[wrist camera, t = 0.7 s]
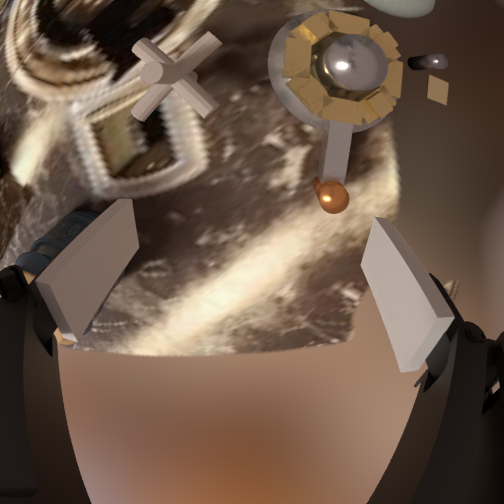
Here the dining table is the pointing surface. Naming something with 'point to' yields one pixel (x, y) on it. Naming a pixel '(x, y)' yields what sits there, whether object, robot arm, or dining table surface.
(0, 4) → the coffee can
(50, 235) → the canister
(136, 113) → the pipe connector
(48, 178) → the dining table surface
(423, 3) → the air freshener
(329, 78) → the gold and silver mechanism
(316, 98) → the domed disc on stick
